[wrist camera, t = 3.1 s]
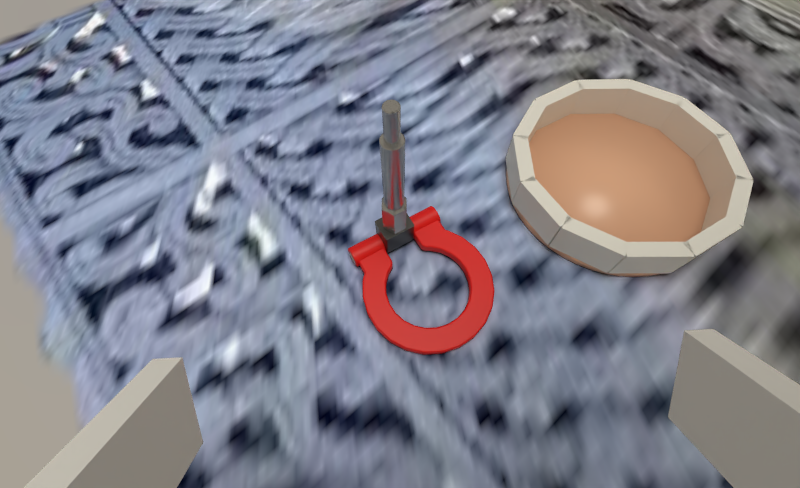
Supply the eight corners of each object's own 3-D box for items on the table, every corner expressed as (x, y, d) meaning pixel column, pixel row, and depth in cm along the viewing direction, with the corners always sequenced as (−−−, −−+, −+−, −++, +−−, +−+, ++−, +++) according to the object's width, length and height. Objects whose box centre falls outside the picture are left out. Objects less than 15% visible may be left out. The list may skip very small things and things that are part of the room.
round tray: (612, 86, 34) (630, 55, 31) (763, 214, 28) (802, 189, 25) (467, 156, 31) (473, 127, 28) (601, 317, 25) (625, 301, 22)
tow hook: (516, 313, 26) (439, 206, 29) (613, 218, 14) (465, 57, 17) (404, 381, 24) (336, 259, 27) (407, 339, 12) (288, 133, 16)
